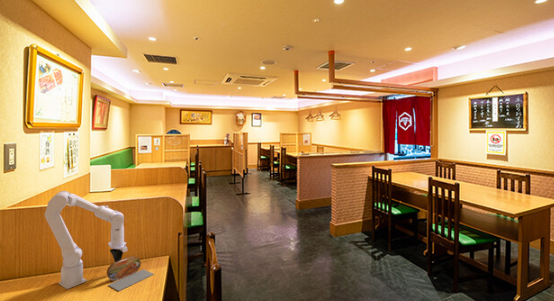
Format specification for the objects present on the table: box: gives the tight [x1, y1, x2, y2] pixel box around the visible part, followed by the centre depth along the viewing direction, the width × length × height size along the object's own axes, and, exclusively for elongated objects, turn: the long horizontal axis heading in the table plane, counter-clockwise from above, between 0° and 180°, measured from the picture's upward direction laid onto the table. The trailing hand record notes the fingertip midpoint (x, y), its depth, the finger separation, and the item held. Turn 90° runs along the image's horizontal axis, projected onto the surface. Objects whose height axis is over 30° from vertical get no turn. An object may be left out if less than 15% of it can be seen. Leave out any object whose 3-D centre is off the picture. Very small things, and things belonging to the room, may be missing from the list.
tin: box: [106, 256, 142, 282], centre depth 126 cm, size 15×3×8 cm, turn 143°
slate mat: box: [107, 268, 155, 292], centre depth 122 cm, size 9×17×1 cm, turn 149°
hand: (117, 262), depth 129 cm, fingers closed
